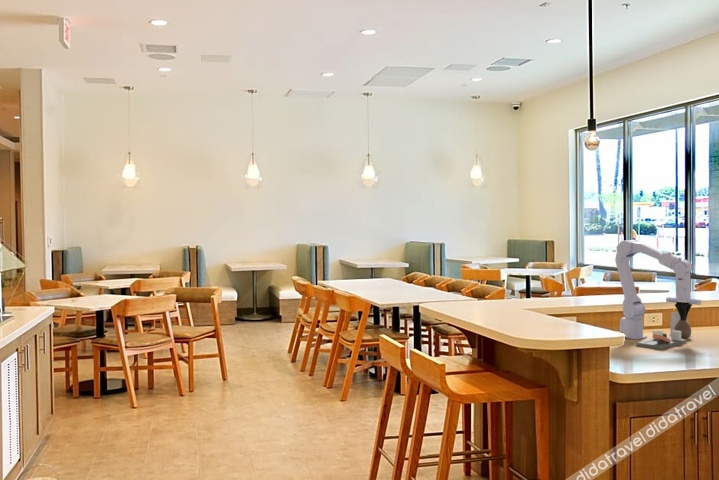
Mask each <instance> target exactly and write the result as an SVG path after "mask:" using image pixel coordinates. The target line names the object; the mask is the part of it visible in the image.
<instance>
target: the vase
mask: <svg viewBox="0 0 719 480" xmlns="http://www.w3.org/2000/svg"><path fill="white" fill-rule="evenodd" d="M674 330H676V331H681V336H682V339H685V340H689V338H690V337H691V335H692V327H691V325H690V324H689V322H688V323H687V321H686V320H685V321H683V320H681V319H679V321H678V322H677V324H676V325H675V327H674Z"/></svg>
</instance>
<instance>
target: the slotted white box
mask: <svg viewBox="0 0 719 480" xmlns="http://www.w3.org/2000/svg"><path fill="white" fill-rule="evenodd" d="M670 335H671V336H670V338H671V340H677V341H679V340H682V336H681V331H676V330H673V331H671V332H670Z"/></svg>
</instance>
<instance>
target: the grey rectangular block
mask: <svg viewBox="0 0 719 480" xmlns="http://www.w3.org/2000/svg"><path fill="white" fill-rule="evenodd" d="M679 319H681V318H680V315H679V312H678V311H671V314H670V321H669V322H670V323H669V324H670V332H669V333H671V331H673V330H674V327H675V325H676V324H677V322H678V321H679ZM686 321H687V323H688V324H689V316H688V315H687V319H686Z"/></svg>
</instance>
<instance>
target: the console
mask: <svg viewBox="0 0 719 480" xmlns="http://www.w3.org/2000/svg"><path fill="white" fill-rule="evenodd" d="M667 338H668V339H670V340H671V337H667ZM635 343H636V347H641V348H648V349H655V350H664V349H667V348H673V347H677V346H680V345H684V344H687V339H682V340H679V341H677V340H671V342H670V343H666V341H658V340H656V339H653V338H650V339H646V340H641V341H638V342H635Z"/></svg>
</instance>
